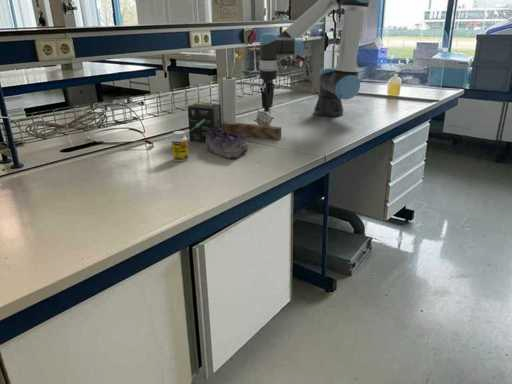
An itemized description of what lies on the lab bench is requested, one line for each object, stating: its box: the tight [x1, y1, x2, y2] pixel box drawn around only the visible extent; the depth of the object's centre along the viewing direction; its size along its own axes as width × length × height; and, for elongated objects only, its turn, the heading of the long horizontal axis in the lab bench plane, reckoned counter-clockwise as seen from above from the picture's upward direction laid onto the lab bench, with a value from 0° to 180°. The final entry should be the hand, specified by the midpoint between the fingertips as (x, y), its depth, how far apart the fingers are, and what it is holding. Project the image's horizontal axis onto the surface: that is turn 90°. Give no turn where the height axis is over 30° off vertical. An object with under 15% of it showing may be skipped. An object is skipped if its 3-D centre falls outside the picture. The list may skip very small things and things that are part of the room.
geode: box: [205, 126, 249, 160], centre depth 159 cm, size 20×12×10 cm, turn 47°
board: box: [222, 122, 282, 142], centre depth 179 cm, size 26×3×5 cm, turn 69°
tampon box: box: [187, 102, 222, 144], centre depth 173 cm, size 11×9×15 cm
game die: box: [253, 110, 275, 126], centre depth 192 cm, size 9×8×10 cm
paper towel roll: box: [217, 76, 237, 123], centre depth 196 cm, size 7×6×21 cm
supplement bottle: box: [171, 130, 189, 163], centre depth 151 cm, size 6×6×10 cm
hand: (267, 121), depth 198 cm, fingers closed
